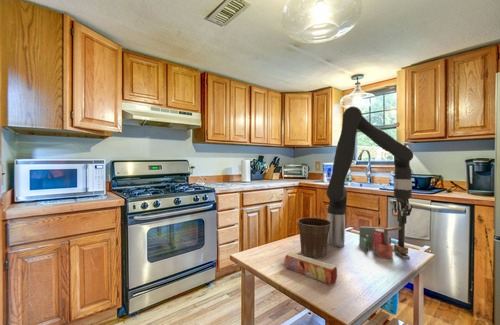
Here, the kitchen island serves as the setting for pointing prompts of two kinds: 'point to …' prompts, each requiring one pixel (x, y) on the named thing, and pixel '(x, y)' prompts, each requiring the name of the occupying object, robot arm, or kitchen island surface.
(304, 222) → the plant pot
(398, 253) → the rail
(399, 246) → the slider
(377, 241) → the soda can
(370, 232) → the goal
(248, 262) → the kitchen island surface
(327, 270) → the snack package
